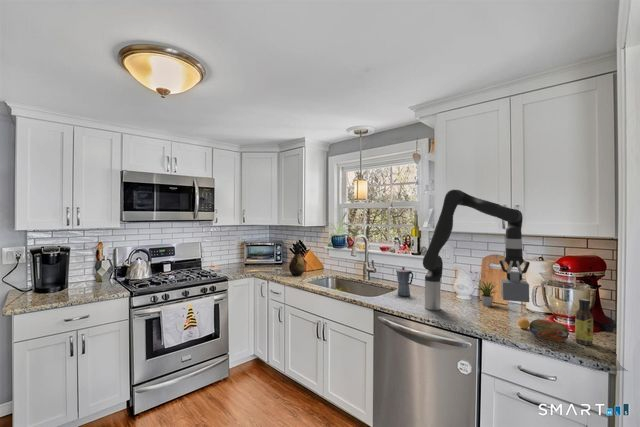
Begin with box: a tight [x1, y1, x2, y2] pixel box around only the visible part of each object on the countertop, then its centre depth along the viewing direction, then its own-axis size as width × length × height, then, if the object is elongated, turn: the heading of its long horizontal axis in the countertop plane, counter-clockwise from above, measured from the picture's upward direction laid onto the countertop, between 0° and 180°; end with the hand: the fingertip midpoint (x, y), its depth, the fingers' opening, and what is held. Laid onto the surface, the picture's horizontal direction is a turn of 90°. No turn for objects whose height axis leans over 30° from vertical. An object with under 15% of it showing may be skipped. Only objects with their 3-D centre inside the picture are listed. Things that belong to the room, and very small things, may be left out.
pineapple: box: [288, 243, 306, 277], centre depth 298 cm, size 17×15×30 cm
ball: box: [517, 318, 531, 330], centre depth 162 cm, size 5×5×5 cm
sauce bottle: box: [574, 298, 594, 346], centre depth 144 cm, size 6×6×20 cm
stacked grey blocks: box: [500, 270, 530, 303], centre depth 163 cm, size 11×11×14 cm
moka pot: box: [395, 266, 414, 297], centre depth 228 cm, size 10×15×20 cm, turn 40°
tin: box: [528, 318, 570, 343], centre depth 149 cm, size 15×3×8 cm, turn 45°
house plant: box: [476, 280, 499, 307], centre depth 204 cm, size 14×14×16 cm
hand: (514, 280), depth 163 cm, fingers closed on stacked grey blocks, 4 cm apart
